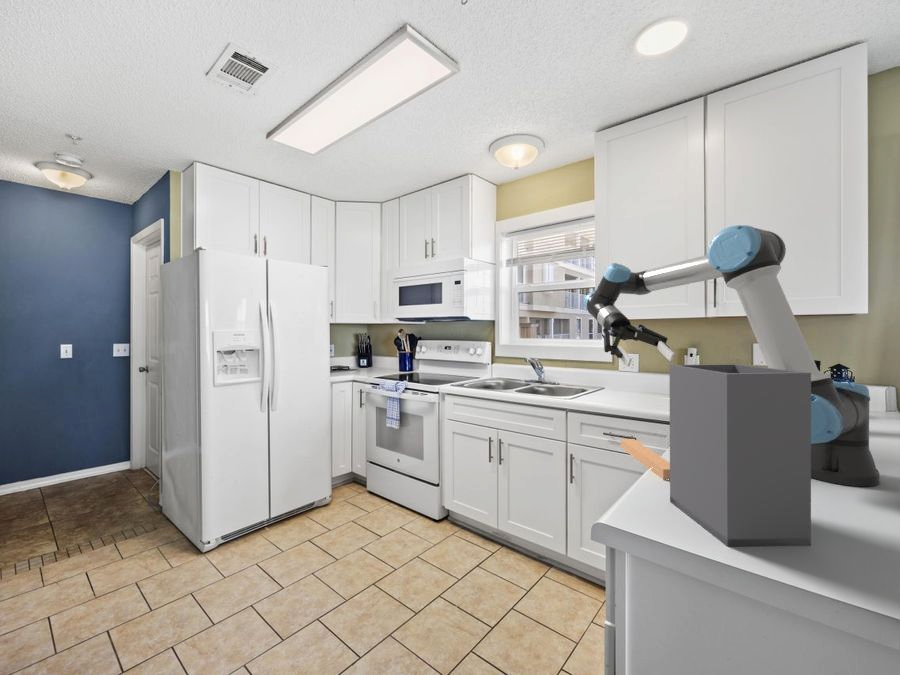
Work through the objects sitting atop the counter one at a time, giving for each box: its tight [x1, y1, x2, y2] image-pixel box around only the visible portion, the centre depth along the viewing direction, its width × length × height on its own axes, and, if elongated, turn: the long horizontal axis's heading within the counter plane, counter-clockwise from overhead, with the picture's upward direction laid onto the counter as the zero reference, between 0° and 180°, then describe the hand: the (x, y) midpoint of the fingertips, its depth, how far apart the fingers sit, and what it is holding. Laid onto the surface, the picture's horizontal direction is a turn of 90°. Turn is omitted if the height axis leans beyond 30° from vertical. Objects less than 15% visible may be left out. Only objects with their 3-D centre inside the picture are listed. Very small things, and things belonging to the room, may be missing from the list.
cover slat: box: [620, 438, 670, 481], centre depth 113 cm, size 28×4×3 cm, turn 177°
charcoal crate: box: [668, 363, 812, 547], centre depth 78 cm, size 14×18×29 cm
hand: (651, 360), depth 119 cm, fingers open, 13 cm apart
